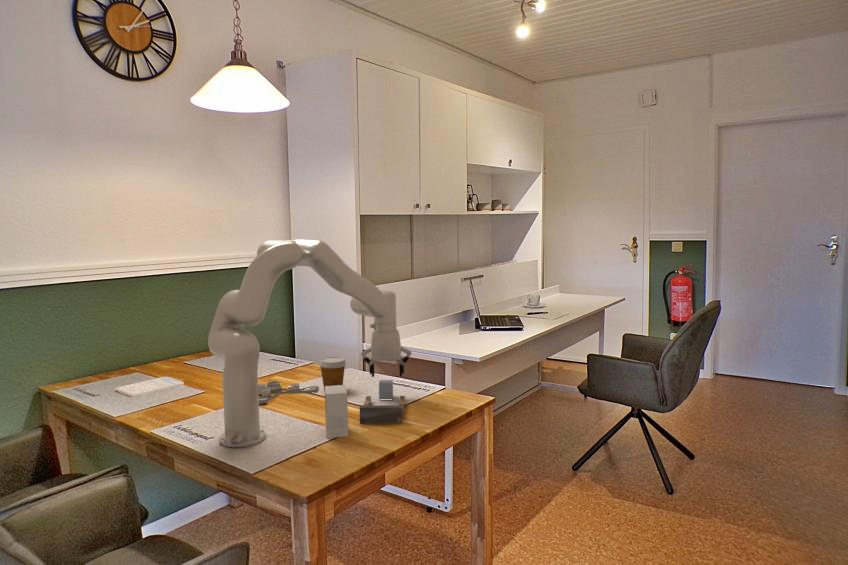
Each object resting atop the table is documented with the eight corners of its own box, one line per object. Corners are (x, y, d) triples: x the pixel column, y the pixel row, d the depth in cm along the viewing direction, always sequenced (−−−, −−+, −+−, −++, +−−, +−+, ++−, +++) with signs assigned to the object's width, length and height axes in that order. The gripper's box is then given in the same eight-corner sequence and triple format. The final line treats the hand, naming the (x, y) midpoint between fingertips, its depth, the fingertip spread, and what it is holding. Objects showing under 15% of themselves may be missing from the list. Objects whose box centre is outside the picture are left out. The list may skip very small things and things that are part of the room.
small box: (325, 428, 174) (324, 385, 173) (346, 426, 175) (345, 384, 174) (326, 438, 166) (325, 394, 165) (348, 436, 167) (347, 392, 166)
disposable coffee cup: (350, 389, 213) (350, 357, 211) (340, 397, 204) (339, 363, 202) (326, 387, 215) (325, 355, 214) (315, 395, 206) (314, 361, 205)
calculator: (114, 392, 213) (114, 387, 213) (167, 379, 228) (167, 375, 228) (131, 399, 205) (131, 393, 204) (185, 386, 220) (185, 381, 220)
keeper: (392, 400, 200) (392, 383, 199) (379, 400, 200) (378, 383, 199) (393, 396, 204) (392, 379, 204) (380, 396, 204) (379, 379, 204)
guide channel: (402, 423, 178) (402, 407, 177) (359, 423, 178) (359, 407, 177) (404, 401, 199) (404, 387, 198) (366, 401, 199) (366, 387, 198)
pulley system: (234, 400, 204) (254, 408, 193) (233, 387, 204) (254, 394, 193) (302, 387, 223) (324, 393, 212) (301, 374, 222) (324, 380, 212)
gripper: (359, 329, 196) (360, 379, 198) (410, 328, 196) (411, 378, 198) (361, 325, 203) (363, 373, 205) (411, 324, 203) (412, 372, 205)
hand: (387, 375), depth 201 cm, fingers open, 9 cm apart
